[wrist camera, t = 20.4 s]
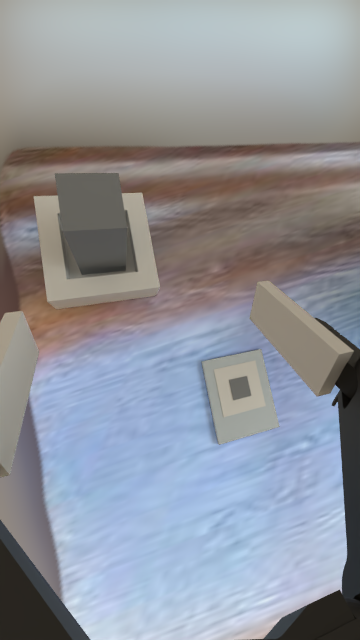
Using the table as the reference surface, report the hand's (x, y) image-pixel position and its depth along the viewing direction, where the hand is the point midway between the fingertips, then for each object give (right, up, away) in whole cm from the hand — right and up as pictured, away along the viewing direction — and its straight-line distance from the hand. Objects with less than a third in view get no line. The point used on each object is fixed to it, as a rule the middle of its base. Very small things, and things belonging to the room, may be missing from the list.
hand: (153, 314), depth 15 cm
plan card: (+11, -12, +24) cm, 29 cm away
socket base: (-10, +9, +23) cm, 27 cm away
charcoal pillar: (-10, +9, +22) cm, 26 cm away
